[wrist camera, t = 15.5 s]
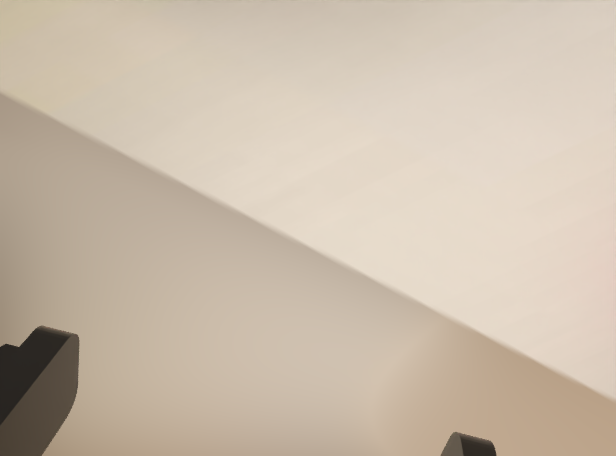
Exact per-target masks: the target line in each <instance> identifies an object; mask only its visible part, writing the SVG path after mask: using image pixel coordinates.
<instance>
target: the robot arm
mask: <svg viewBox="0 0 616 456" xmlns="http://www.w3.org/2000/svg"><path fill="white" fill-rule="evenodd" d="M78 363H79V337H78V335H77V334H73V333H69V332H65V331H61V330H57V329H53V328H49V327H45V326H39V327H38V328H36V329H35V330H34V331H33V332H32V333H31V334H30V336H29V337H28V338H27V339H26V340H25V341H24V342H23V343H22V344H21V346H20V347H16V346H12V345H9V344H5V345H3V346H1V347H0V456H42V454H43V453H44V451H45V450H46V448H47V447H48V445H49V444H50V442H51V441H52V439H53V438H54V436H55V435H56V433H57V431H58V430H59V429H60V427H61V425H62V424H63V422H64V421H65V419H66V418H67V416H68V414H69V412H70V410H71V408H72V406H73V403H74V401H75V397H76V394H77V388H78V365H79V364H78ZM441 456H496V451H495V448H494V445H493V443H492V442H491V441H489V440H485V439H481V438H477V437H473V436H469V435H465V434H461V433H457V432H455V433H453V434H452V435H451V436H450V438H449V440H448V442H447V444H446V446H445V448H444V450H443V452H442V454H441Z"/></svg>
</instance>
